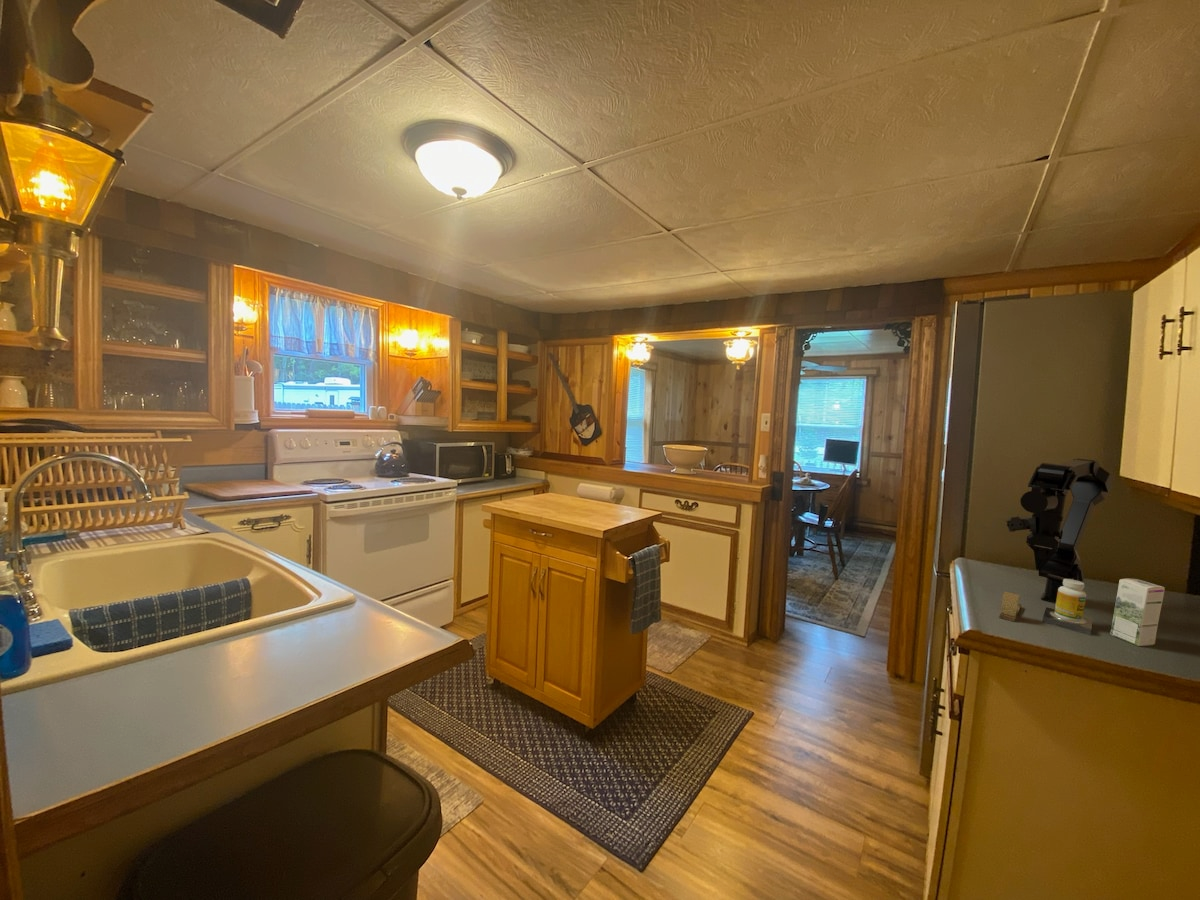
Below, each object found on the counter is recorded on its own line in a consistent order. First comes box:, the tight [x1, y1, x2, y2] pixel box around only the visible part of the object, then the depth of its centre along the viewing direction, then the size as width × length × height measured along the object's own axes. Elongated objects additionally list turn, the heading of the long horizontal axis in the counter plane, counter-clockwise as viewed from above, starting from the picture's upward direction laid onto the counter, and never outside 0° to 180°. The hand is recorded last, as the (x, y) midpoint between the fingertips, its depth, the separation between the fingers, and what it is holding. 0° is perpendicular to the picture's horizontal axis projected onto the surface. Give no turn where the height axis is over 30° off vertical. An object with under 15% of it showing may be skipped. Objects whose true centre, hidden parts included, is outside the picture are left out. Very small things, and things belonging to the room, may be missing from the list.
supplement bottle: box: [1054, 579, 1087, 621], centre depth 130 cm, size 5×5×10 cm
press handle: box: [1000, 591, 1021, 617], centre depth 131 cm, size 3×3×5 cm
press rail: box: [999, 602, 1022, 623], centre depth 135 cm, size 14×3×1 cm, turn 135°
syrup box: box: [1109, 577, 1166, 647], centre depth 122 cm, size 6×6×14 cm
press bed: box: [1042, 606, 1093, 636], centre depth 130 cm, size 9×9×2 cm
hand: (1040, 566), depth 137 cm, fingers open, 9 cm apart
